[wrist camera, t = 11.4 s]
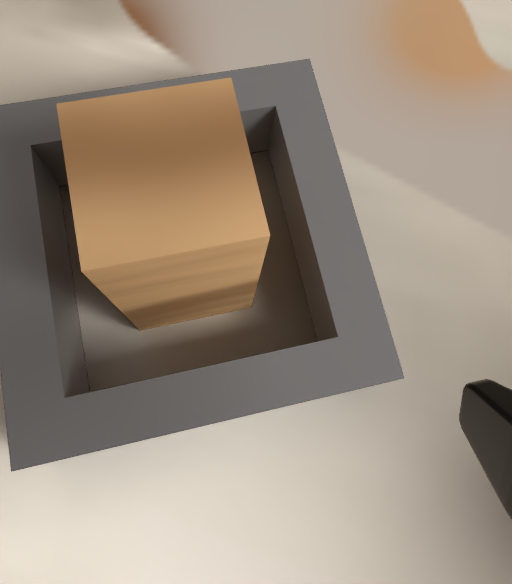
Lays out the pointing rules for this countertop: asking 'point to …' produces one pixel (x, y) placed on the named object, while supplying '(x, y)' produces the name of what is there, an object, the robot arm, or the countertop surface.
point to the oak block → (165, 201)
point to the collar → (206, 380)
